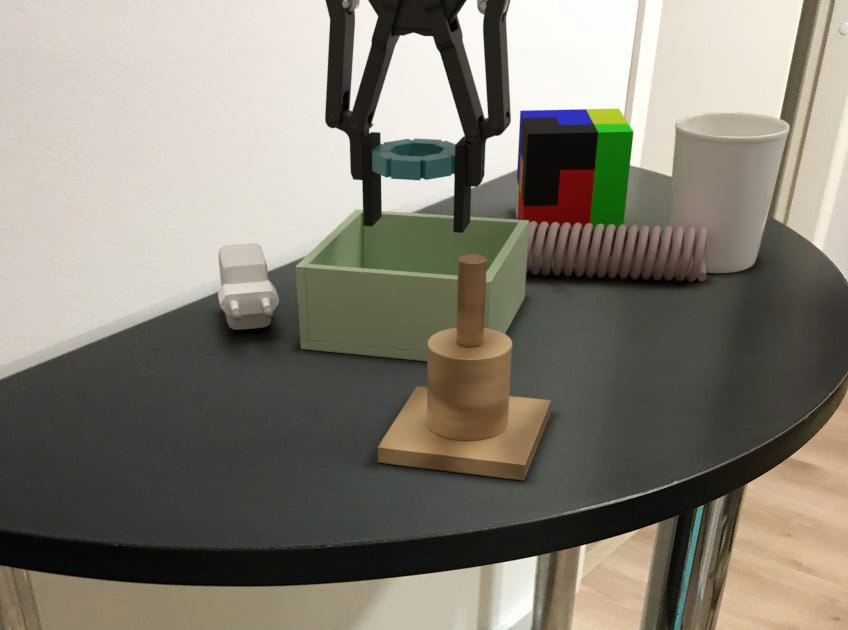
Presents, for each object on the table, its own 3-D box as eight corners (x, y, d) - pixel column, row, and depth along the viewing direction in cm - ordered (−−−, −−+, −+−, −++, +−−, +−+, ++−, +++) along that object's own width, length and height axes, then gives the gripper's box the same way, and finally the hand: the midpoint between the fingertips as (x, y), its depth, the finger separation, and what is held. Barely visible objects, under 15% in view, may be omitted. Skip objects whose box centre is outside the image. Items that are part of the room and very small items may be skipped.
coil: (712, 223, 100) (513, 216, 103) (715, 233, 96) (508, 225, 100) (704, 275, 103) (510, 267, 106) (707, 287, 99) (505, 278, 102)
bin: (524, 298, 99) (529, 220, 94) (487, 367, 87) (490, 281, 83) (358, 284, 102) (355, 209, 98) (300, 349, 91) (295, 266, 87)
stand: (550, 415, 80) (564, 239, 72) (524, 481, 72) (536, 292, 65) (416, 400, 82) (416, 229, 75) (377, 462, 75) (373, 279, 67)
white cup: (636, 259, 106) (652, 124, 99) (699, 236, 111) (719, 106, 104) (722, 284, 100) (746, 142, 93) (785, 259, 105) (812, 123, 98)
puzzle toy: (515, 210, 120) (520, 110, 114) (608, 209, 119) (618, 108, 113) (521, 240, 112) (527, 133, 106) (621, 238, 111) (633, 131, 105)
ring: (468, 159, 89) (469, 140, 88) (448, 182, 84) (448, 162, 83) (387, 155, 90) (387, 136, 90) (362, 177, 85) (362, 158, 84)
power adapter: (286, 354, 90) (281, 282, 86) (226, 359, 89) (219, 287, 86) (272, 305, 99) (266, 238, 95) (217, 310, 98) (210, 243, 95)
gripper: (263, -115, 75) (286, 230, 89) (551, -117, 70) (528, 247, 84) (301, -121, 81) (317, 203, 95) (570, -124, 76) (545, 218, 90)
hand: (416, 223), depth 90 cm, fingers closed on ring, 7 cm apart
